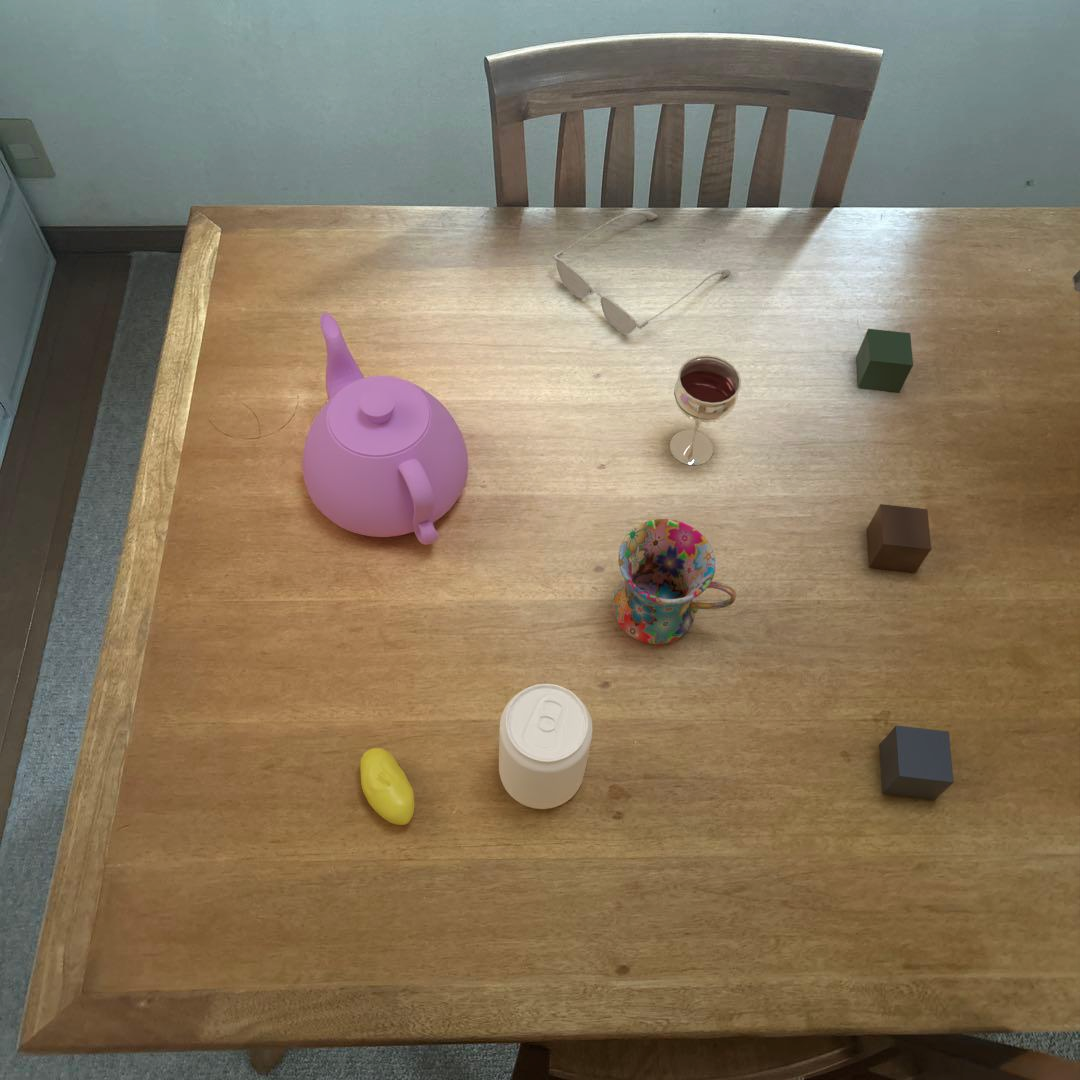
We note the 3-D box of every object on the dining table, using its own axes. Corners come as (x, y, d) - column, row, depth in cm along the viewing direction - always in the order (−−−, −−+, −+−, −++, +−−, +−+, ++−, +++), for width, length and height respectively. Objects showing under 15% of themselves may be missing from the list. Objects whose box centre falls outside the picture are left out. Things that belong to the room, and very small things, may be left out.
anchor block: (930, 750, 105) (949, 731, 101) (934, 800, 103) (954, 782, 99) (879, 744, 106) (895, 725, 101) (882, 794, 103) (899, 776, 99)
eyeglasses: (549, 276, 137) (551, 252, 133) (650, 212, 143) (654, 188, 140) (635, 347, 131) (639, 324, 128) (735, 277, 138) (742, 254, 134)
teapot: (508, 522, 117) (510, 447, 106) (359, 592, 112) (343, 521, 100) (405, 366, 128) (396, 282, 116) (264, 423, 123) (241, 341, 111)
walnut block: (911, 533, 119) (927, 508, 114) (915, 573, 116) (931, 549, 112) (866, 528, 119) (880, 503, 114) (868, 568, 116) (883, 543, 112)
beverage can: (487, 796, 101) (486, 750, 91) (513, 719, 105) (516, 667, 95) (570, 822, 100) (579, 779, 90) (593, 743, 104) (604, 693, 94)
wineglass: (688, 481, 121) (706, 415, 111) (649, 441, 124) (664, 372, 113) (733, 453, 123) (755, 386, 113) (694, 414, 126) (712, 345, 116)
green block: (896, 360, 132) (910, 332, 127) (899, 392, 129) (913, 365, 125) (855, 356, 132) (868, 328, 127) (857, 388, 129) (870, 360, 125)
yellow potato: (393, 747, 103) (389, 732, 100) (425, 821, 100) (423, 808, 96) (351, 764, 102) (346, 750, 99) (382, 841, 99) (379, 828, 95)
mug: (595, 633, 111) (605, 582, 102) (624, 560, 115) (636, 506, 106) (708, 673, 109) (728, 625, 100) (732, 598, 113) (754, 545, 104)
